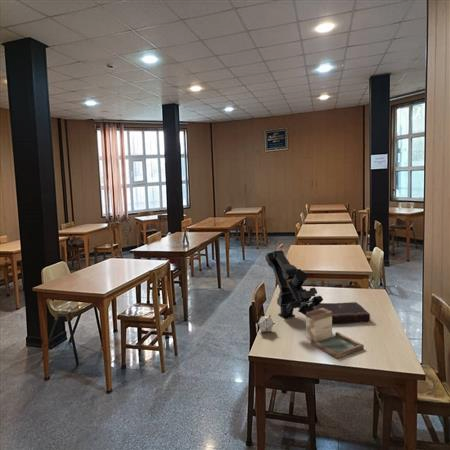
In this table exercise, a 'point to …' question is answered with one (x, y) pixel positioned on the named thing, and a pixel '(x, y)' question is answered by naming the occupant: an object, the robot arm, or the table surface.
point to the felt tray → (338, 345)
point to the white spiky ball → (265, 323)
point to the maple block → (319, 324)
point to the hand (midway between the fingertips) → (313, 320)
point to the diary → (345, 312)
